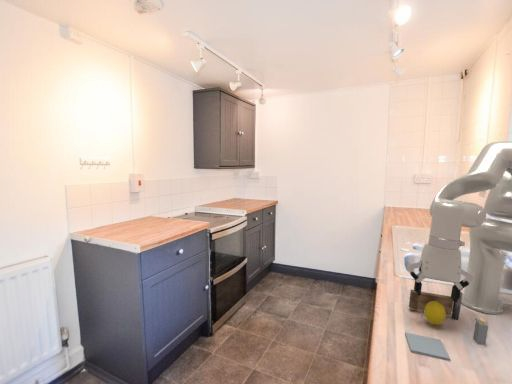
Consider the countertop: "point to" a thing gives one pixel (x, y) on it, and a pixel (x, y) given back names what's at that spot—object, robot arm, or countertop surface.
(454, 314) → the gatepost
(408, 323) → the countertop surface
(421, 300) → the brown wooden block
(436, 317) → the lemon
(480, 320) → the post
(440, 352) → the mat
